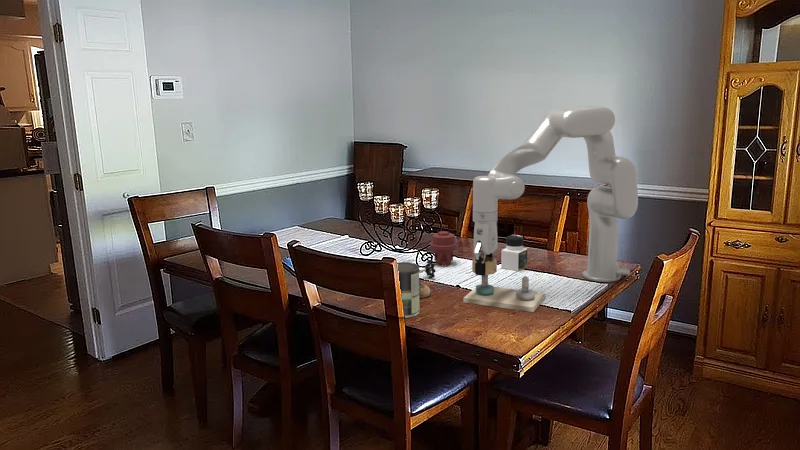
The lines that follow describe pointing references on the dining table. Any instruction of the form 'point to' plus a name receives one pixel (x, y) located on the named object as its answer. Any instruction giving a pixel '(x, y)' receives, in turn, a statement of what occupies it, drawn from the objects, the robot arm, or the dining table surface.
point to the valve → (428, 269)
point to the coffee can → (409, 288)
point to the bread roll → (423, 291)
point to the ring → (487, 265)
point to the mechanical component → (443, 247)
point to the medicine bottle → (514, 254)
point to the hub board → (505, 296)
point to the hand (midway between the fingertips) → (484, 271)
